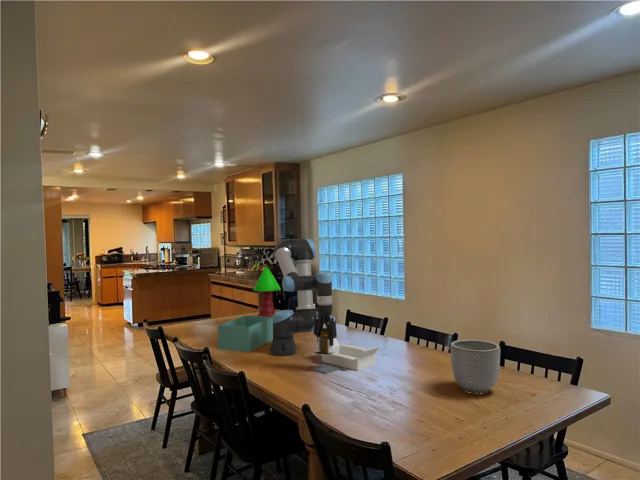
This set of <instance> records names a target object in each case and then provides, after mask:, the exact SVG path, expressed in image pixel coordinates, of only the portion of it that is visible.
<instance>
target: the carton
mask: <svg viewBox="0 0 640 480" xmlns="http://www.w3.org/2000/svg"><path fill="white" fill-rule="evenodd" d="M333 344H334V345H333V352H335V353H334V354H328V355H323V356H321V362H323V363H325V364H329V365H333V366H337V367H342V368H347V369H349V370H354V371H357V372H359V371H361V370H364V369H366V368H370V367H372V366H375V365H377V359H376V358H377V353H378V352H379V351H378V350H379V349H380V348H381V346H379V345H378V346H376V347H372V348H365V347H362V346H356V345H351V344H346V343H344V344H340V343H339V341H338V339H337V338H334V339H333Z"/></svg>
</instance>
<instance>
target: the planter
mask: <svg viewBox="0 0 640 480" xmlns="http://www.w3.org/2000/svg"><path fill="white" fill-rule="evenodd" d="M449 349H450V358H451V359H450V361H451V362H450V363H451V369H452V370H451V371H452V375H453V377H454V380H455V382H456V383H457V384H458V386H459V387H461V389H462V390H463V392H465V391H467V392H471V393H478V394H477V395H481V394H480V393H486V394H488V393H489V392H490V390H491V389H493V387H495V386H496V384H497V383H498V379H499V376H500V375H499V374H500V366H501V347H500V345H499V344H497V343H495V342H492V341H487V340H481V339H457V340H454V341H452V342H450V348H449ZM467 392H466V393H467ZM487 392H488V393H487ZM471 393H470V394H471Z"/></svg>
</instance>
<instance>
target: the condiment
mask: <svg viewBox="0 0 640 480" xmlns="http://www.w3.org/2000/svg"><path fill="white" fill-rule="evenodd" d="M328 339H329V337H328V333H327V328H326V327H323V328H321V334H320V351H318V350H317V351H314V352H313V353H314V354H317V355H319V356H321V357H322V356H323V355H328V354H334V353H335V352H331V353H328Z"/></svg>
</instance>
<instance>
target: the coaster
mask: <svg viewBox="0 0 640 480" xmlns="http://www.w3.org/2000/svg"><path fill="white" fill-rule="evenodd" d="M310 369H311V371H314V372H318V373H322V374H324V375H326V374H330V373H334V372H335V371H339V370H341V366H337V365H333V364H329V363H323V364H319V365H317V366H316V365H315V366H313V367H310Z"/></svg>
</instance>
